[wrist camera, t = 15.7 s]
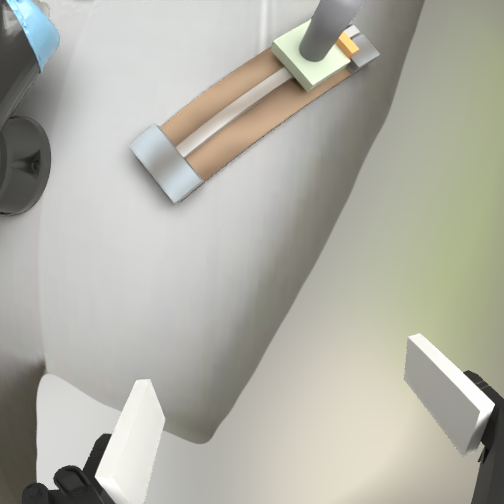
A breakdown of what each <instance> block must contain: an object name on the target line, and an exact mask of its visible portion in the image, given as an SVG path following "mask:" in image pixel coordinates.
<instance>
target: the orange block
mask: <svg viewBox="0 0 504 504" xmlns="http://www.w3.org/2000/svg"><path fill="white" fill-rule="evenodd" d="M359 32H360V31H359V30H358V29H357V28H356V27H355V26H354V25H353V26H351V27H349V28H348V29H346V30H344V32H343V33H342V34H341V36H340V37H339V38H338V40H337V41H336V42H335V44H336V45H337V46H338V47H339V48H340V49H341V50H342V52H343V53H344V54H345V55H346V56H347V57H348V59H349V60H350V59H351V58H352V56H353V55H354V54H355V53H356V52H357V51H358V50H359V48H358V47H357V46H356V45H355V43H354V42H353V41H352V40H351V38H353V37H355V36H357V35H358V34H359Z"/></svg>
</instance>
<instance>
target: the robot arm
mask: <svg viewBox="0 0 504 504" xmlns="http://www.w3.org/2000/svg"><path fill="white" fill-rule="evenodd" d="M59 41H60V36H59V32H58V30H57V28H56V27H55V25H54V24H53V23H52V22H51V20H50V19H49V18H48V17H47V16H46V15H45V14H44V12H43V11H42V10H41V9H40V8H39V7H38V6H37V5H36V4H35V3H34V2H33V1H32V0H0V215H5V216H9V215H15V214H20V213H23V212H25V211H27V210H28V209H30V208H31V207H32V206H33V205H34V204H35V203H36V202H37V200H38V199H39V198H40V196H41V194H42V193H43V191H44V188H45V186H46V183H47V180H48V177H49V172H50V165H51V152H50V145H49V141H48V138H47V135H46V133H45V131H44V130H43V128H42V127H41V126H40V125H39V124H38V123H37V122H36V121H34V120H32V119H30V118H26V117H21V116H11V115H12V114H13V112H14V110H15V109H16V107H17V105H18V104H19V102H20V101H21V99H22V98H23V96H24V94H25V93H26V91H27V90H28V88H29V87H30V86H31V84H32V83H33V81H34V80H35V78H36V77H37V76H38V74H41V73H42V72H43V70H44V66H45V65H46V63H47V62H48V60H49V59H50V57H51V56H52V55H53V53H54V52H55V51H56V49H57V47H58V45H59ZM404 380H405V381H406V382H407V384H408V385H409V386H410V388H411V389H412V390H413V392H414V393H415V394H416V395H417V397H418V398H419V399H420V400H421V402H422V403H423V405H424V406H425V407H426V408H427V410H428V411H429V412H430V414H431V415H432V416H433V418H434V419H435V420H436V422H437V423H438V424H439V426H440V427H441V428H442V430H443V431H444V432H445V434H446V435H447V436H448V438H449V439H450V440H451V442H452V443H453V444H454V446H455V447H456V449H457V450H458V451H459V453H460V454H461V455H462V457H465V456H467V455H469V454H470V453H473V452H475V451H476V450H477V448H478V446H479V444H480V442H482V443H483V444H484V445H485V447H484V449H483V451H482V453H481V456H480V458H479V460H478V462H480V461H481V463H480V468H479V473H478V477H477V482H476V486H475V491H474V495H473V498H472V502H471V504H504V399H503V398H502V397H501V396H500V395H499V394H498V393H497V392H496V391H495V390H494V389H493V388H491V386H489V385H488V384H487V383H486V382H485V381H483V379H482V378H481V377H479V375H477V374H475V373H473V372H471V371H469V370H468V371H466V372H463V373H462V372H461V371H460V370H459V369H458V368H457V367H456V366H455V365H454V364H453V363H451V361H450V360H449V359H447V358H446V357H445V356H444V355H443V354H442V353H441V352H440V351H439V350H438V349H437V348H436V347H435V346H433V345H432V344H431V343H430V342H429V341H428V340H427V339H426V338H425V337H424V336H422V335H421V334H420V333H419V334H416V335H412V336H409V337H408V342H407V355H406V364H405V375H404ZM164 423H165V417H164V415H163V412H162V409H161V407H160V404H159V402H158V399H157V396H156V393H155V391H154V388H153V385H152V382H151V380H150V379H144V380H136V382H135V384H134V386H133V389H132V391H131V393H130V395H129V397H128V400H127V402H126V404H125V406H124V409H123V411H122V413H121V415H120V418H119V420H118V422H117V424H116V427H115V429H114V431H113V434H103V435H102V436H101V437H99V439H97V440H96V442H95V444H94V447H93V450H92V451H91V453H90V457H88V460H87V462H86V464H85V466H84V468H83V471H82V470H81V469H80V468H78V467H76V466H70V465H69V466H65V467H62V468H61V469H59V470H58V471H57V472H56V473H55V476H54V478H53V479H54V483H55V485H56V486H57V487H58V488H59V490H48V489H47V487H46V486H45V485H44V484H41V483H32V484H30V485H28V486H27V487H26V488H25V489H24V490H23V494H22V504H144V503H145V498H146V494H147V490H148V485H149V482H150V478H151V474H152V470H153V465H154V461H155V458H156V454H157V450H158V446H159V442H160V437H161V434H162V430H163V426H164Z"/></svg>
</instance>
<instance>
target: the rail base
mask: <svg viewBox="0 0 504 504" xmlns="http://www.w3.org/2000/svg"><path fill="white" fill-rule="evenodd" d="M312 17H313V16H312ZM311 19H312V18H311ZM351 24H352V22H350V23H349V25H348V26H347V27H346V29H348V28H349V27H350V26H351ZM346 29H345V30H346ZM351 40H352V41H353V42H354V43H355V45H356V46H357V47H358V48H359V50H358V51H357V52H356V53H355V54H354V55H353V56H352V58H351V59H350V62H349V63H348V64H347V66H346V67H345V68H344V69H342V70H341V71H339V72H338V73H336V74H334V75H333V76H331V77H330V78H328V79H327V80H325V81H324V82H322V83H321V84H319V85H318V86H316V87H314V88H313V89H311V90H310V91H309V92H307V91H306V90H305V89H304V88H303V86H302V85H301V84H300V83H299V82H298V81H297V79H296V78H295V77H294V76H293V75H292V74H291V72H290V71H289V70H288V69H287V68H286V67H285V66H284V64H283V63H282V62H281V61H280V60H279V59H278V58H277V57H276V56H275V55H274V53H273V52H272V51H271V48H272V47H270V48H268V49H267V50H265V51H264V52H262V53H260V54H259V55H257V56H256V57H254V58H253V59H251V60H250V61H248V62H247V63H245V64H244V65H242V66H241V67H239V68H238V69H236V70H235V71H233V72H232V73H230V74H229V75H228V76H226V77H225V78H223V79H222V80H221V81H219V82H218V83H216V84H215V85H214V86H212V87H211V88H209V89H208V90H207V91H205V92H204V93H203V94H201V95H200V96H199V97H197V98H196V99H195V100H194V101H192V102H191V103H190V104H188V105H187V106H186V107H185V108H183V109H182V110H181V111H180V112H178V113H177V114H176V115H175V116H173V117H172V118H171V119H170V120H168V121H167V122H166V123H165V124H164V125H162V126H161V127H159V126H157V125H156V124H155V123H154V124H153V125H152V126H150V127H149V128H148V129H147V130H146V131H145V132H144V133H142V134H141V135H140V136H139V137H138V138H137V139H136V140H135V141H133V142H132V143H131V144H130V145H129V147H130V148H131V150H132V151H133V152H134V153H135V155H136V156H137V157H138V159H139V160H140V161H141V162H142V164H143V165H144V166H145V167H146V169H147V170H148V171H149V172H150V174H151V175H152V176H153V177H154V179H155V180H156V181H157V182H158V184H159V185H160V186H161V187H162V189H163V190H164V191H165V192H166V194H167V195H168V196H169V197H170V199H171V200H172V201H173V202H174V204H175V203H178V202H181V201H182V200H184V199H185V198H186V197H187V196H188V195H190V194H191V193H192V192H193V191H194V190H196V189H197V188H198V187H199V186H200V185H202V184H203V183H204V182H205V181H207V180H208V179H209V178H210V177H212V176H213V175H214V174H215V173H217V172H218V171H219V170H220V169H222V168H223V167H224V166H225V165H227V164H228V163H229V162H230V161H232V160H233V159H234V158H236V157H237V156H238V155H239V154H241V153H242V152H243V151H245V150H246V149H247V148H249V147H250V146H251V145H252V144H254V143H255V142H256V141H258V140H259V139H260V138H262V137H263V136H264V135H266V134H267V133H269V132H270V131H271V130H273V129H274V128H275V127H277V126H278V125H279V124H281V123H282V122H284V121H285V120H286V119H288V118H289V117H291V116H292V115H293V114H295V113H296V112H298V111H299V110H301V109H302V108H303V107H305V106H306V105H308V104H309V103H311V102H312V101H313V100H315V99H316V98H318V97H319V96H321V95H322V94H324V93H325V92H327V91H328V90H330V89H331V88H333V87H334V86H336V85H337V84H339V83H340V82H342V81H343V80H345V79H346V78H348V77H350V76H351V75H353V74H354V73H356V72H357V71H359V70H361V69H362V68H364V67H365V66H367V65H368V64H369V63H371V62H372V61H373V60H374V59H375V58H377V57H378V56H379V55H380V54H379V53H378V52H377V50H376V49H375V48H374V47H373V45H372V44H371V43H370V42H369V41H368V40H367V38H366V37H365V36H364V35H363V34H362V35H360V36H358V37H357V38H355V39H352V38H351Z"/></svg>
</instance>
